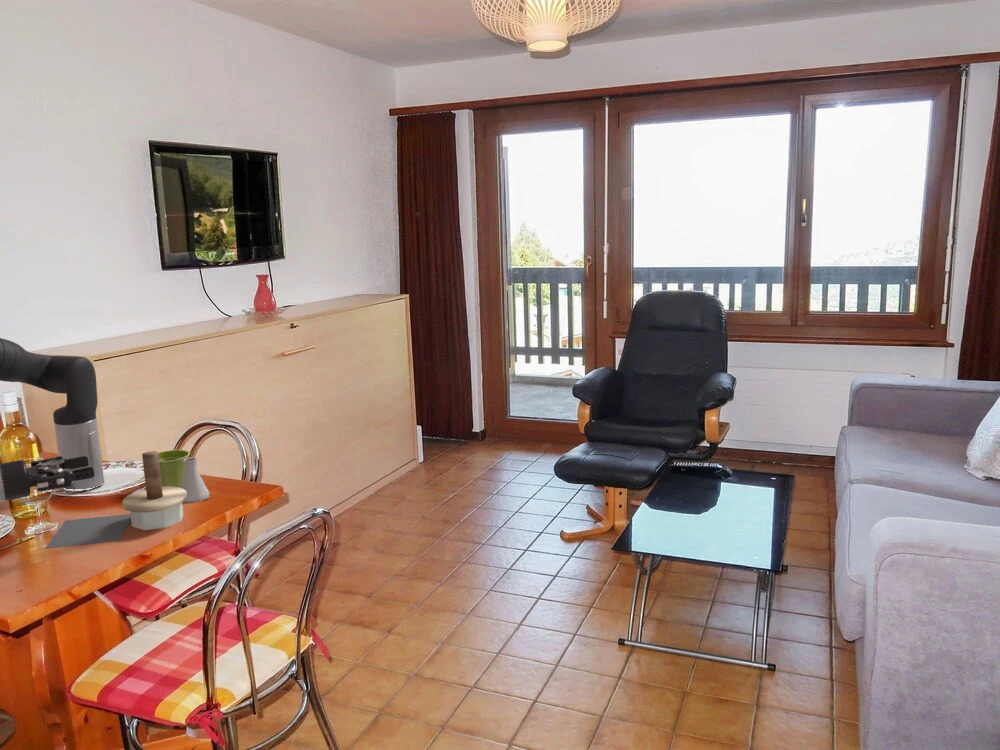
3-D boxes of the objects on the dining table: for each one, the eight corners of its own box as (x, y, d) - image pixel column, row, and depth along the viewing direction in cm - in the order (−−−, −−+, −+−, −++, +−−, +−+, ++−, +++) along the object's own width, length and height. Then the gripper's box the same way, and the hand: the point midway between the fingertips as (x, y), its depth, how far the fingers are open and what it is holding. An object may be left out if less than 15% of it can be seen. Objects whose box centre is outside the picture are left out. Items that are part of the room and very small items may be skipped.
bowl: (138, 516, 177) (135, 495, 176) (185, 511, 179) (183, 490, 178) (129, 533, 167) (126, 511, 166) (179, 528, 170) (176, 506, 168)
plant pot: (143, 491, 192) (139, 458, 190) (174, 479, 200) (171, 447, 198) (170, 497, 188) (167, 463, 186) (201, 485, 196) (198, 452, 194)
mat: (65, 522, 173) (65, 520, 173) (133, 515, 177) (133, 513, 177) (45, 550, 159) (45, 548, 159) (119, 542, 163) (119, 540, 162)
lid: (129, 493, 177) (124, 447, 174) (190, 488, 180) (186, 442, 177) (117, 515, 164) (110, 465, 162) (182, 508, 167) (177, 460, 165)
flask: (186, 493, 191) (182, 454, 189) (215, 493, 190) (211, 454, 188) (172, 504, 184) (167, 463, 182) (201, 505, 183) (197, 464, 181)
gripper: (-1, 474, 148) (93, 458, 157) (-5, 455, 160) (83, 440, 169) (5, 511, 150) (98, 492, 159) (1, 489, 162) (88, 473, 171)
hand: (90, 466), depth 164 cm, fingers open, 8 cm apart
